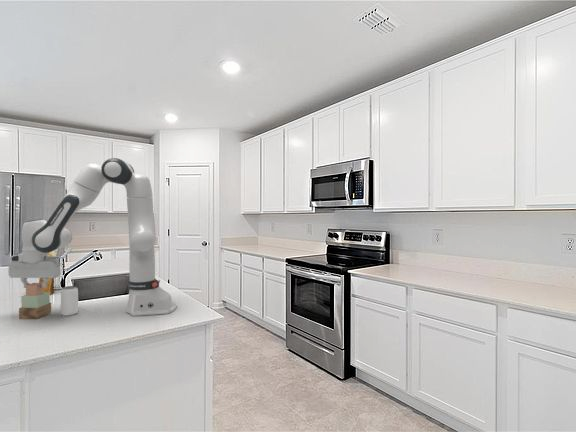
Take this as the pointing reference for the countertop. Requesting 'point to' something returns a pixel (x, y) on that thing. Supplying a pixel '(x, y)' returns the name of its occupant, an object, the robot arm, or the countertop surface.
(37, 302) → the tower top
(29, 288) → the cube
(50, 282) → the pancake mix bag
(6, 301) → the countertop surface
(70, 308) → the can
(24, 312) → the tower base
